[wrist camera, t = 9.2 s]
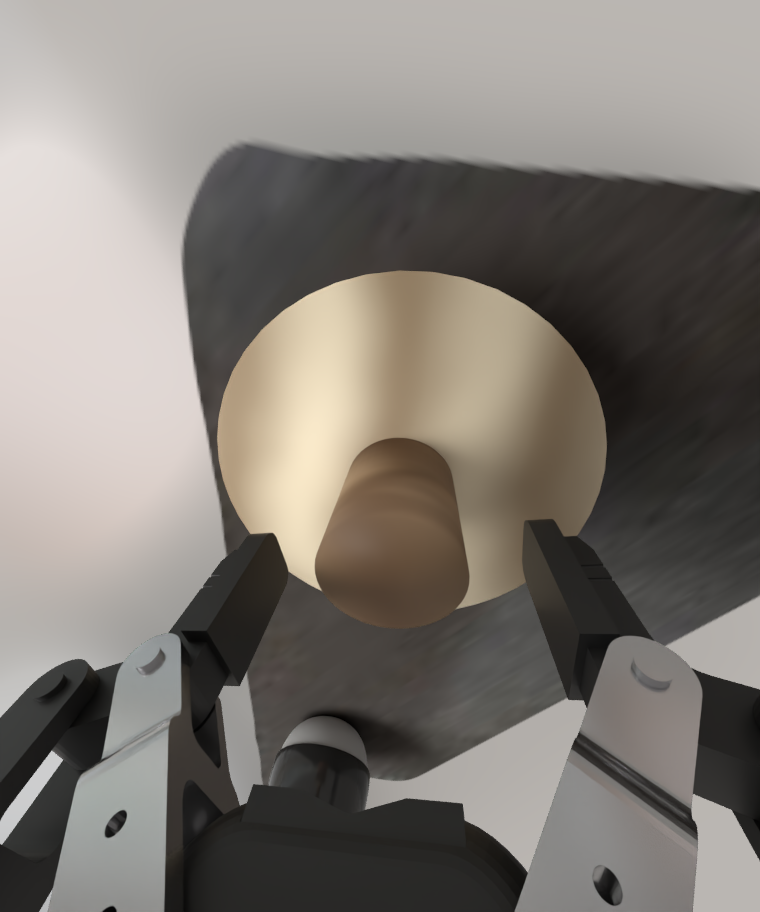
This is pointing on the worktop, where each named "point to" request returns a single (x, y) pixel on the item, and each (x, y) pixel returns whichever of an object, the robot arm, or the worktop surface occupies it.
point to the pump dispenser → (325, 763)
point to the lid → (409, 441)
